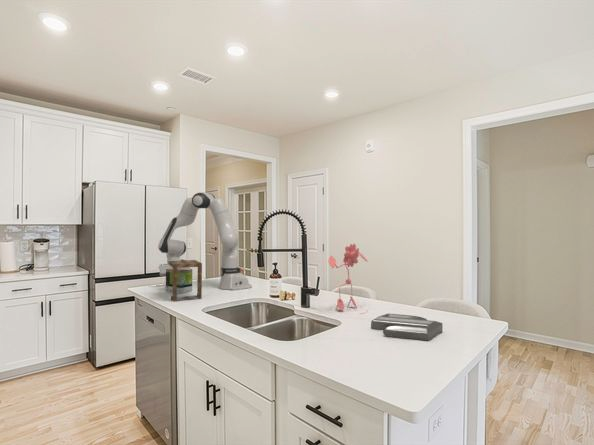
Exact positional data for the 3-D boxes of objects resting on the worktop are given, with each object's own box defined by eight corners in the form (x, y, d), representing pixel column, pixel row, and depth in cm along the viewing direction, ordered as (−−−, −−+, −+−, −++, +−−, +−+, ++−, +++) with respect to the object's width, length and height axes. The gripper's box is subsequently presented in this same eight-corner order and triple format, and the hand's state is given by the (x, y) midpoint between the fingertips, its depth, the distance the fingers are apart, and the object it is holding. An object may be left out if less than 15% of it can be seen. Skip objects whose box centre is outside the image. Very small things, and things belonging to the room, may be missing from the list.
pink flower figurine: (323, 311, 170) (325, 243, 170) (356, 304, 187) (358, 242, 186) (345, 318, 159) (347, 245, 158) (378, 310, 175) (380, 244, 175)
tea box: (192, 291, 218) (193, 268, 218) (180, 293, 209) (180, 270, 209) (177, 288, 226) (178, 266, 226) (165, 291, 217) (165, 268, 217)
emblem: (414, 308, 159) (457, 325, 132) (414, 319, 159) (457, 339, 132) (361, 312, 151) (395, 331, 125) (361, 323, 151) (394, 345, 125)
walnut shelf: (194, 292, 213) (194, 259, 213) (201, 298, 196) (201, 263, 196) (168, 294, 205) (168, 261, 206) (172, 301, 188) (173, 264, 188)
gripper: (158, 261, 229) (160, 277, 221) (189, 260, 239) (192, 275, 230) (158, 267, 233) (159, 283, 224) (188, 265, 243) (190, 281, 234)
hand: (176, 279), depth 227 cm, fingers closed
